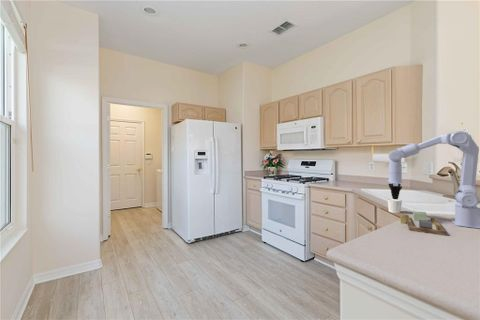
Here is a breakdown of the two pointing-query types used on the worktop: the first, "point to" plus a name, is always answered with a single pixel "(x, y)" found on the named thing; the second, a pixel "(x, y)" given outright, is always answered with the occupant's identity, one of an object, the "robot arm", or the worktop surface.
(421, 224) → the block
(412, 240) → the worktop surface
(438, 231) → the twin wooden rails
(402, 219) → the tan textured block
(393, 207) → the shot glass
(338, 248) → the worktop surface
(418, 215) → the block
